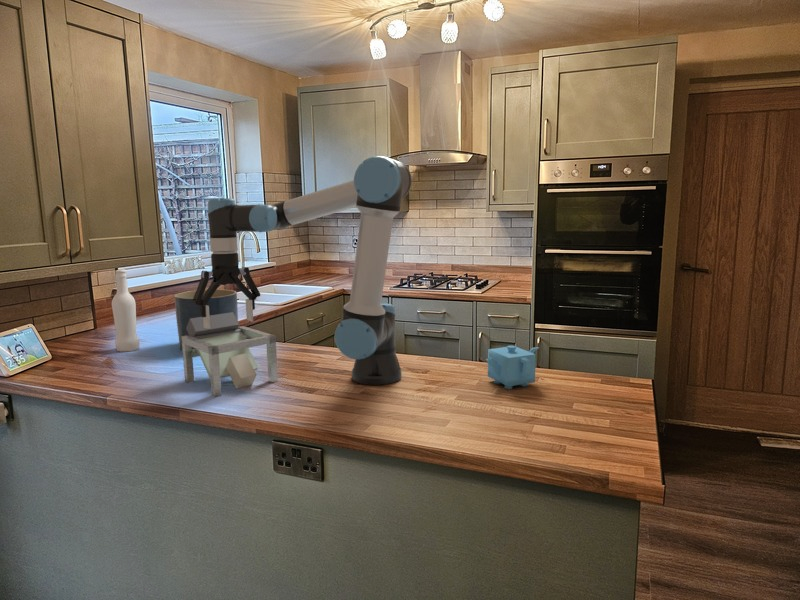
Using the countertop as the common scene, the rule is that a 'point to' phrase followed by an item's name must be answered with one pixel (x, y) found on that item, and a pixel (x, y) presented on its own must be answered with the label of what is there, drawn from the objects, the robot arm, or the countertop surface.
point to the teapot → (512, 366)
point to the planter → (186, 309)
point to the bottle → (124, 315)
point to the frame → (215, 350)
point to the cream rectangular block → (240, 371)
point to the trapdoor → (219, 338)
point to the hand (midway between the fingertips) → (229, 324)
